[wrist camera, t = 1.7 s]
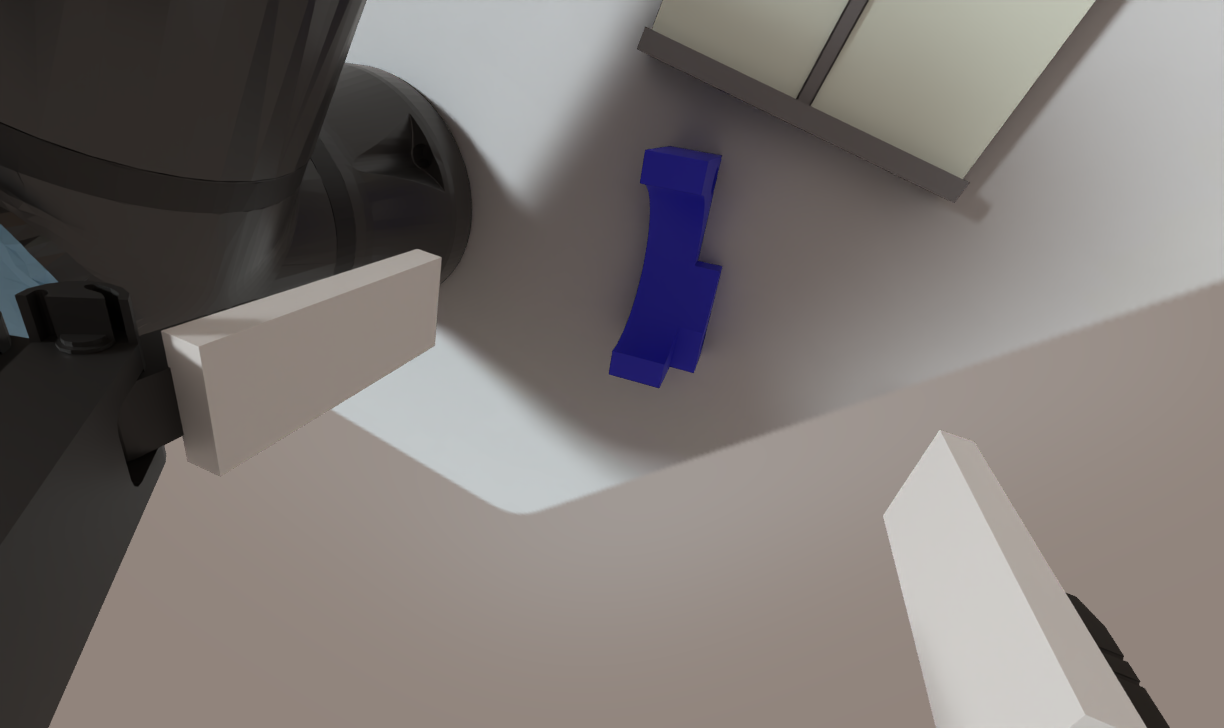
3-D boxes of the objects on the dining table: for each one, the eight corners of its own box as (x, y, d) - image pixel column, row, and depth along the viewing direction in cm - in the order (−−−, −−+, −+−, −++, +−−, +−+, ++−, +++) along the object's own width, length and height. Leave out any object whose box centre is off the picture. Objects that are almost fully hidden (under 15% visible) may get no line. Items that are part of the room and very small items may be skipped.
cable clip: (700, 354, 34) (685, 395, 28) (635, 337, 35) (608, 374, 29) (749, 160, 28) (741, 167, 23) (670, 145, 29) (645, 149, 24)
